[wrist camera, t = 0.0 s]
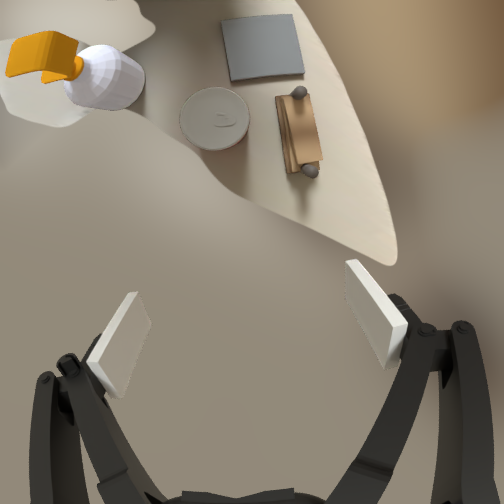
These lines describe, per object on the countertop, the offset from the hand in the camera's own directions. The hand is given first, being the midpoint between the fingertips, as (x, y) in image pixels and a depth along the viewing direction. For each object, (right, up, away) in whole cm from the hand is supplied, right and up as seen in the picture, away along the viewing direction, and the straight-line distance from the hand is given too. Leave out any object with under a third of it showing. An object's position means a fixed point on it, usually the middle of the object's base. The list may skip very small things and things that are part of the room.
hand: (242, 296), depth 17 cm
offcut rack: (+7, +21, +22) cm, 31 cm away
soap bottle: (-20, +30, +18) cm, 40 cm away
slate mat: (+2, +34, +16) cm, 38 cm away
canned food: (-4, +22, +21) cm, 31 cm away
